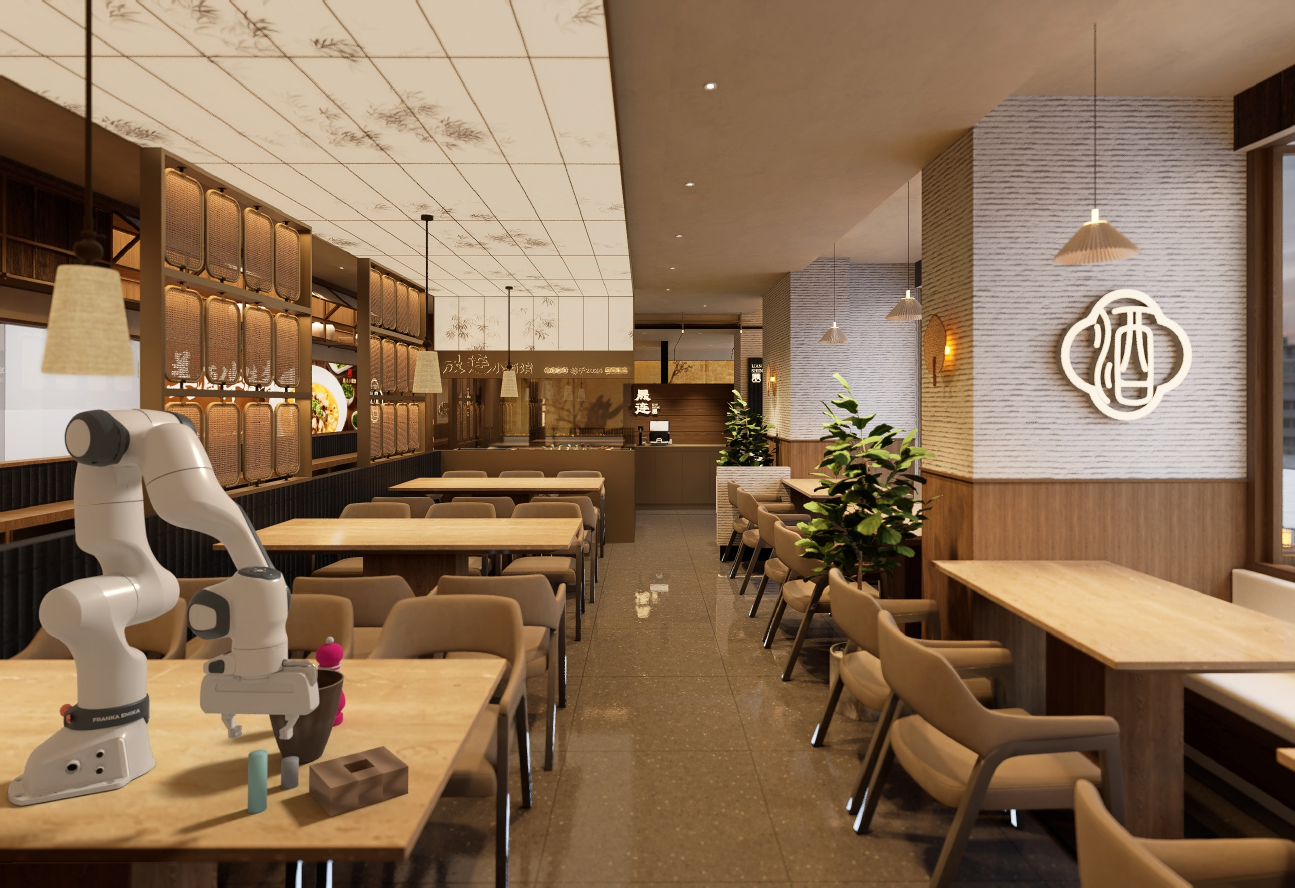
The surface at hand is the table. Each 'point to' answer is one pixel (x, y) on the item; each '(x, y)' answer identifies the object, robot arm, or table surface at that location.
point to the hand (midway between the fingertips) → (260, 737)
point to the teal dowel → (257, 781)
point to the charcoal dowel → (289, 772)
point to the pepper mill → (332, 668)
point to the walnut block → (357, 780)
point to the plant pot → (312, 721)
